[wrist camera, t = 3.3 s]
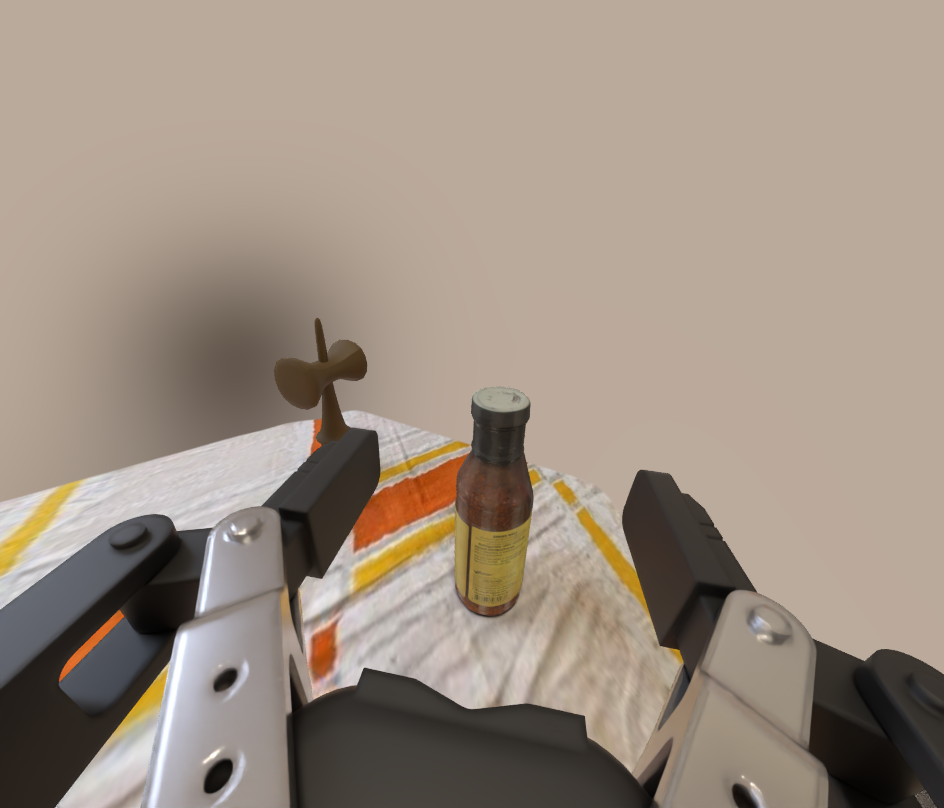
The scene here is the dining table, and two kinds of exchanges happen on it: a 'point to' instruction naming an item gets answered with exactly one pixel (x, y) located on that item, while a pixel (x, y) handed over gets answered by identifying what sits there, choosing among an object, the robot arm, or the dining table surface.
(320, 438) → the kendama
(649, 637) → the dining table surface
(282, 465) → the dining table surface
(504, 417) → the sauce bottle
